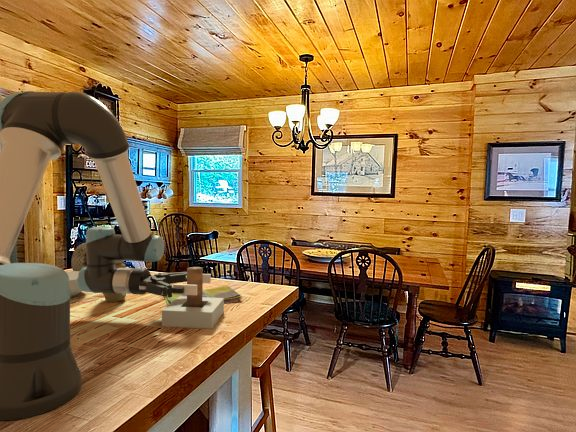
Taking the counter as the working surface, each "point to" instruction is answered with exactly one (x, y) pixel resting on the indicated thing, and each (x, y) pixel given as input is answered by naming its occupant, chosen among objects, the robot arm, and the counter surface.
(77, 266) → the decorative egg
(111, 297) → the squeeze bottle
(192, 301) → the walnut dowel
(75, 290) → the cereal bowl
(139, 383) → the counter surface
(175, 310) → the socket block
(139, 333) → the counter surface
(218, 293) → the dish towel
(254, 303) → the counter surface
